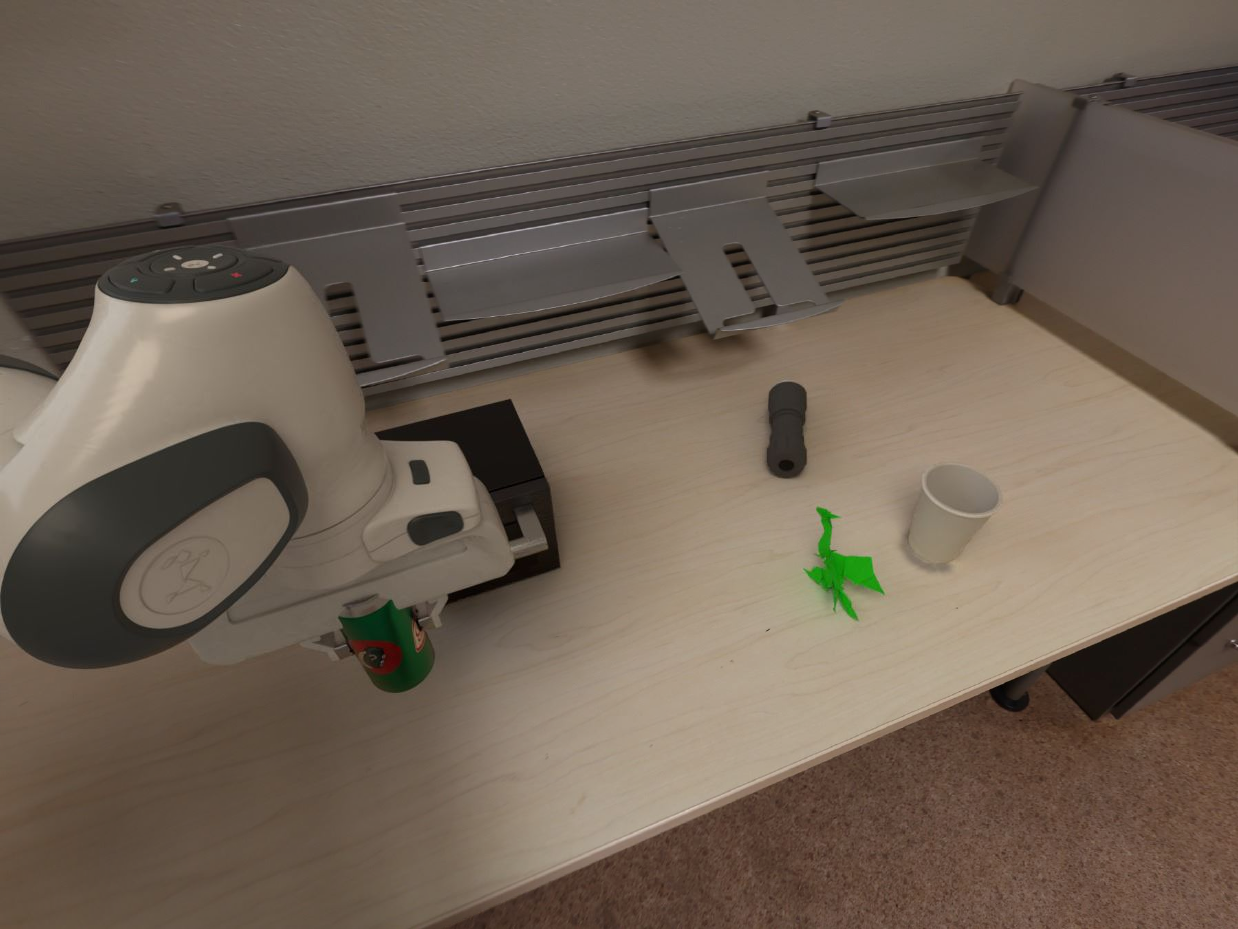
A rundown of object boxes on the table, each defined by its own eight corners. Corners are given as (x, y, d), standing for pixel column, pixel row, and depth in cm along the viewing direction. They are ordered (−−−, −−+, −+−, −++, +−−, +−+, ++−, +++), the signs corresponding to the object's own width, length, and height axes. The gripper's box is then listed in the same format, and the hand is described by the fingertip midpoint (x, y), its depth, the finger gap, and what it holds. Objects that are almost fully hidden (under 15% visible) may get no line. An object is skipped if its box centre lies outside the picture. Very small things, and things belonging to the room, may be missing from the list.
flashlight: (804, 483, 86) (811, 454, 82) (762, 478, 86) (768, 449, 83) (803, 410, 96) (809, 381, 93) (766, 406, 97) (771, 377, 93)
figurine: (820, 531, 79) (845, 490, 71) (876, 619, 72) (910, 584, 65) (776, 546, 77) (796, 505, 70) (828, 637, 71) (857, 603, 63)
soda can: (446, 673, 50) (407, 584, 42) (384, 709, 49) (330, 624, 40) (422, 626, 53) (381, 535, 45) (362, 659, 52) (307, 569, 43)
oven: (556, 557, 78) (545, 474, 68) (404, 605, 73) (369, 524, 63) (524, 480, 87) (510, 398, 77) (388, 518, 82) (355, 436, 73)
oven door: (575, 604, 72) (566, 523, 63) (414, 659, 68) (378, 581, 58) (556, 557, 77) (545, 476, 68) (404, 606, 73) (369, 526, 63)
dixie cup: (919, 578, 74) (949, 521, 67) (883, 524, 80) (907, 467, 73) (985, 565, 76) (1020, 508, 69) (944, 513, 81) (974, 456, 74)
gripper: (119, 614, 33) (237, 727, 43) (504, 500, 38) (531, 624, 48) (135, 527, 38) (239, 648, 47) (480, 434, 43) (509, 561, 52)
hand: (389, 635), depth 48 cm, fingers closed on soda can, 5 cm apart
